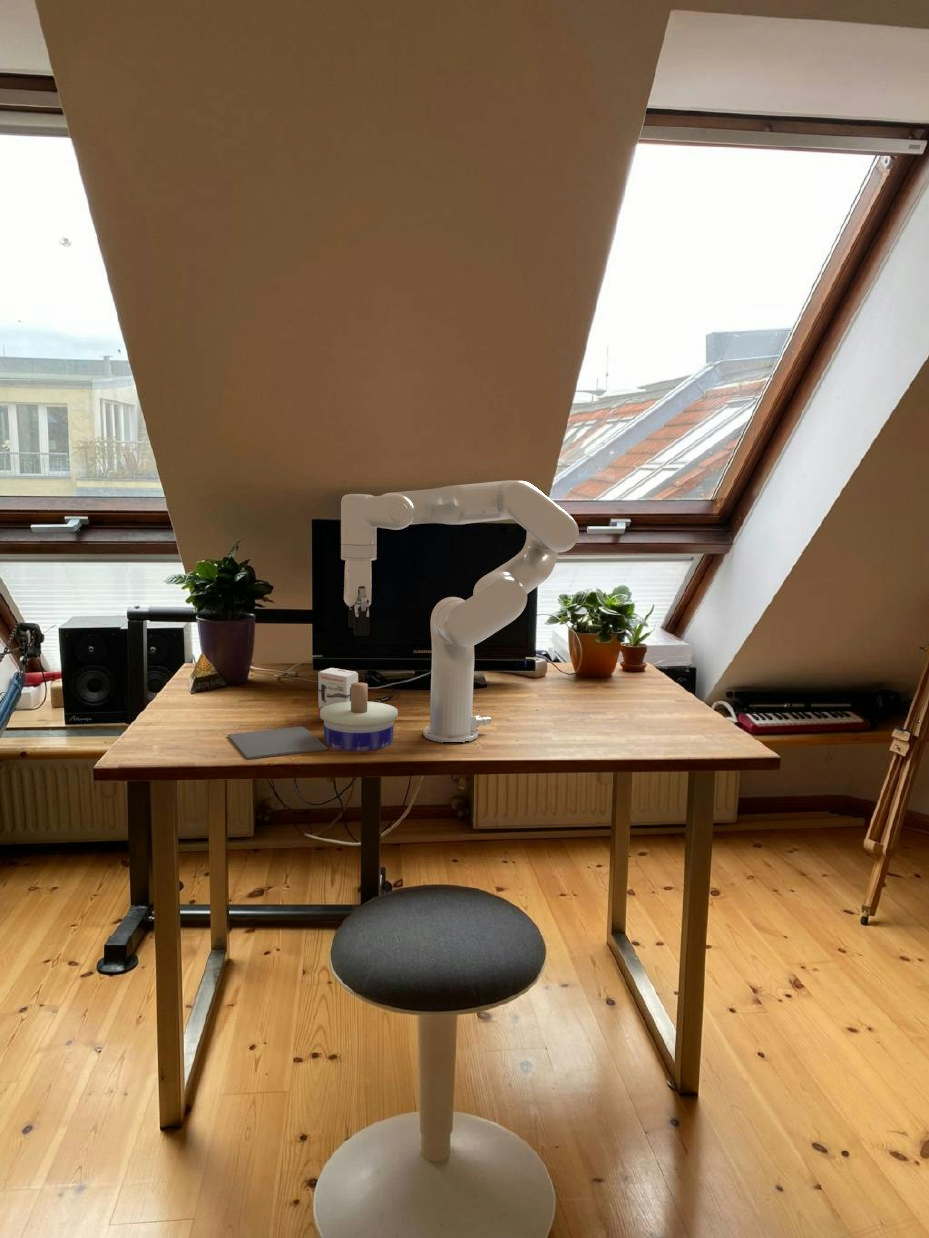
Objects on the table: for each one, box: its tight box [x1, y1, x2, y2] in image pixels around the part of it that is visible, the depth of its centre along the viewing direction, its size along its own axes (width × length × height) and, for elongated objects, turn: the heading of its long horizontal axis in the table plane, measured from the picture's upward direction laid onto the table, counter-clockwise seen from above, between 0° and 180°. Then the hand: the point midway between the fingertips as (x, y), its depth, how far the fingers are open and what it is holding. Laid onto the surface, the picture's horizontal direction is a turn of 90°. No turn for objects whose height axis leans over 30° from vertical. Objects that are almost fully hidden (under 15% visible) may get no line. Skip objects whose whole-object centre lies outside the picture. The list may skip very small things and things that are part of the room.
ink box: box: [317, 667, 359, 720], centre depth 206 cm, size 8×5×12 cm, turn 60°
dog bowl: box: [323, 720, 395, 752], centre depth 190 cm, size 15×15×6 cm
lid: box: [320, 682, 399, 726], centre depth 189 cm, size 17×17×7 cm
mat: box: [227, 725, 328, 760], centre depth 187 cm, size 17×17×1 cm
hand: (358, 631), depth 187 cm, fingers open, 9 cm apart
